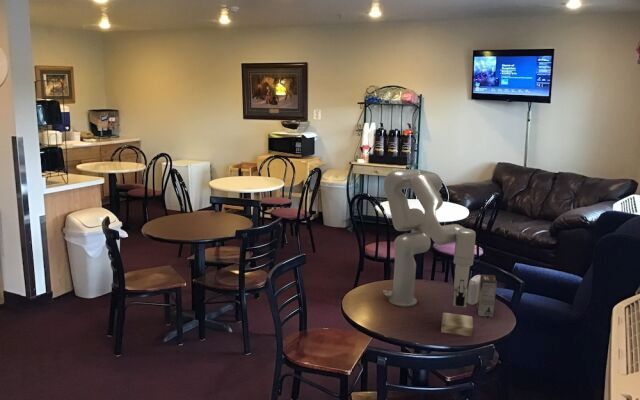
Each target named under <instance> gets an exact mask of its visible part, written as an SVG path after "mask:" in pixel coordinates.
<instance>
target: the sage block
mask: <svg viewBox="0 0 640 400" xmlns="http://www.w3.org/2000/svg"><path fill="white" fill-rule="evenodd" d="M453 289H454V292H453V301H452V303H453V304H452V306H453V307H457V306H456V296H457V289H458V288H457V289H455V288H454V287H453ZM459 289H460V288H459ZM463 289H464V288H463ZM459 291H460V290H459ZM467 296H468V288H467V289H466V290H465V292H464V297H465V299H464V306H458V307H460V308H467V304H468V303H467Z"/></svg>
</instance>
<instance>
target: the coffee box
mask: <svg viewBox="0 0 640 400" xmlns="http://www.w3.org/2000/svg"><path fill="white" fill-rule="evenodd" d="M480 275H481V276H480V285H479V295H478V303H476V306H477V314H478V316H480V317H487V316H489V317H488V318H493V317H494V309H495V301H496V293H497V283H498V282H497V278H496V275H494V274H493V275H492V274H480Z"/></svg>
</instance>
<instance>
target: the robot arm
mask: <svg viewBox="0 0 640 400" xmlns="http://www.w3.org/2000/svg"><path fill="white" fill-rule="evenodd" d="M383 181H384V182H383V189H384V193H385V196H386V198H387V199H386V200H387V201H388V204H389V205H388V206H389V211H390V215H391V216H390V217H391V220H392V224H393V225H392V226H393V227H394V229H395V230H396V231H398V232H406V231H411V232H409V233H402V234H400V235H398V236H397V237H396V238H395V239H394V241H393V249H394V250H393V251H394V269H393V270H394V271H393V281H392V289H391V290H387V289H386V290H385V289H383V290H382V295H384V296H385V297H388V302H389V303H390V304H392V305H394V306H398V307H405V308H406V307H413V306H415V305H417V302H418V300H417V299H416V297H414V296H415V295H414V294H415V283H416V272H417V271H416V270H417V262H416V260H415V257H414V255H417V254H422V253H426V252H428V251H429V250H430V247H431V243H432V242H431V240H432V241H433V242H434V243H435V244H436V245H439V246H442V245H444V246H445V245H449V244H454V255H453V264H454V265H455V269H454V279H453V289H454V288H455V289H457V288H458V289H457V296H456V306H455V307H459V306H464V299H465V297H464V292H465V290H466V289H467V290H468V285H469V278H470V277H469V276H470V267H471V266H473V265H474V258H475V247H476V236H477V235H476V234H477V233H476V231H475V230H473V229H472V228H466V227H464V226H462V225H460V224H458V223H452V224H445V225H441V222H439V220H438V218H437V214H436V213H437V212H436V211H437V210H439V209H440V208H441V207H442V206H443V203H444V200H443V199H442V197H441V195H440V193H439V191H440V190H441V188H442V186H443V182H442V179H441V177H440V175H439V174H437V173H435V172H432V171H428V170H423V169H419V168H418V169H417V168H411V169H410V168H409V169H398V170H393V171H390V172H389V173H388V174H386V175H385V178H384V180H383ZM405 189H407V190H408V189H411V190H412V191H413V193H414V195H415V196H416V198H417V200H418V201H419V204H420V205H421V207H422V208H423V210H424V212H423V210H422V209H420V208H413V207H412V208H410V205H409V201H408V200H409V199H408V198H407V195H406V194H405V193H404V192H403V191H402V190H405ZM459 288H460V289H459ZM463 288H464V289H463ZM459 290H460V291H459Z"/></svg>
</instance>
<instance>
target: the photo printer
mask: <svg viewBox="0 0 640 400" xmlns="http://www.w3.org/2000/svg"><path fill="white" fill-rule="evenodd" d="M480 276H481V274H477V275H474V276H473V277H472V278H471V279H469V280H468V285H467V303H466V304H468V305H471V306H473V305H477V304H478V295H479V285H480Z"/></svg>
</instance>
